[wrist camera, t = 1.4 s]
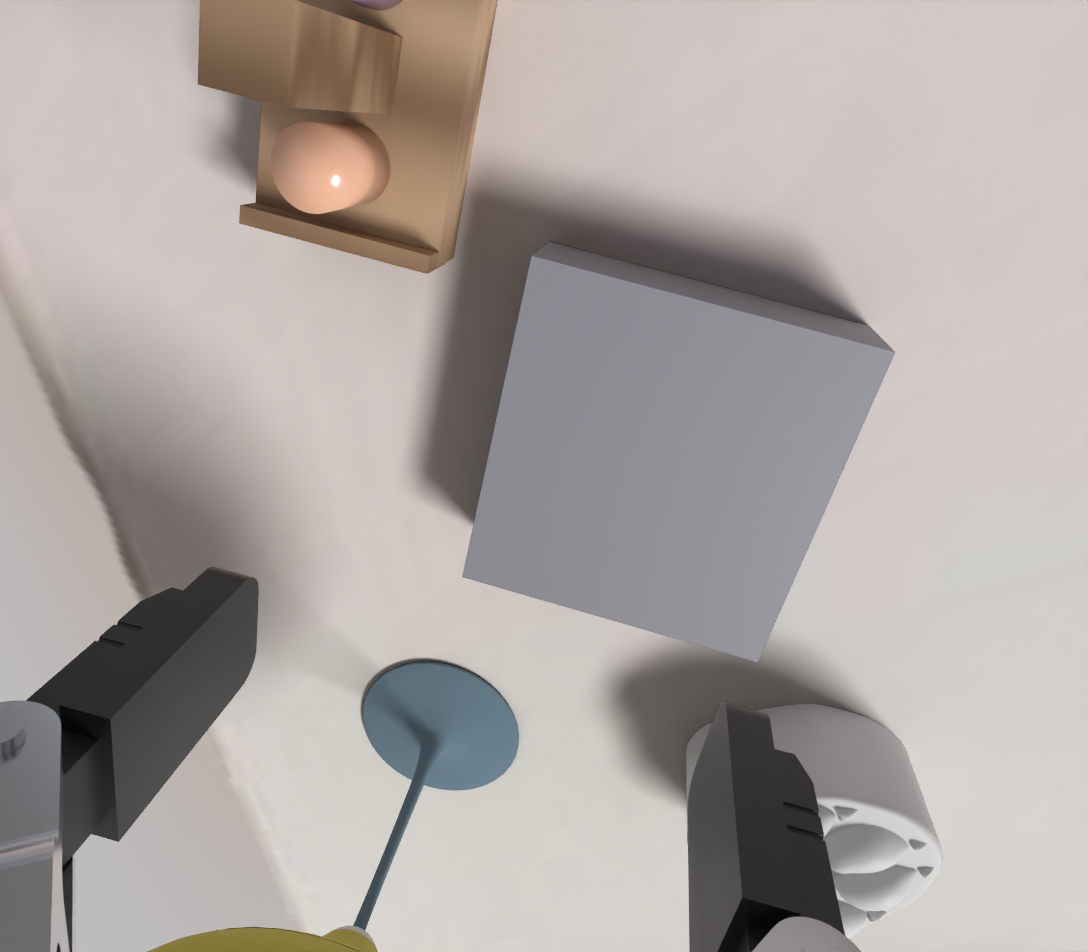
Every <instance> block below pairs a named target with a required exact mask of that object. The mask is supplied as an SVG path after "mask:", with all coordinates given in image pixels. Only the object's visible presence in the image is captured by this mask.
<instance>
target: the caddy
mask: <svg viewBox="0 0 1088 952" xmlns="http://www.w3.org/2000/svg"><path fill="white" fill-rule="evenodd" d="M497 1H498V0H403V1H402V2H401V3H399V4H398V5H396V6H395V7H393V8H390V9H387V10H382V11H376V10H370V9H367V8H365V7H362V6H360V5H357V4H355V3H353V2H350V1H348V0H200V25H199V63H198V84H199V85H203V86H206V87H210V88H214V89H218V90H222V91H226V92H230V93H233V94H237V95H241V96H245V97H249V98H253V99H257V100H260V101H262V105H261V122H260V139H259V156H258V172H257V189H256V203H252V204H245V205H240V220H239V223H240V224H244V225H247V226H251V227H255V228H259V229H262V230H266V231H270V232H274V233H277V234H281V235H285V236H288V237H292V238H296V239H300V240H303V241H307V242H311V243H315V244H318V245H322V246H326V247H329V248H333V249H337V250H341V251H344V252H348V253H352V254H356V255H359V256H363V257H367V258H370V259H374V260H378V261H382V262H385V263H389V264H393V265H396V266H400V267H404V268H408V269H411V270H415V271H419V272H423V273H426V274H428V273H429V272H431V271H433V270H435V269H437V268H439V267H440V266H442V265H444V264H445V262H447V261H448V260H450V259H452V258H453V257H454V251H455V245H456V239H457V233H458V228H459V222H460V216H461V210H462V204H463V199H464V193H465V187H466V181H467V175H468V169H469V164H470V158H471V152H472V146H473V140H474V135H475V129H476V123H477V117H478V111H479V106H480V100H481V94H482V88H483V82H484V76H485V71H486V65H487V59H488V53H489V47H490V42H491V36H492V30H493V24H494V18H495V12H496V7H497ZM299 122H324V123H354V124H359V125H362V126H365V127H367V128H368V129H370V130H371V131H373V132H374V133H375V134H376V135H377V136H378V137H379V138H380V139H381V141H382V142H383V144H384V146H385V148H386V150H387V152H388V155H389V159H390V177H389V181H388V184H387V186H386V188H385V190H384V191H383V193H382V194H381V195H380V196H379V197H378V198H377V199H375V200H374V201H372V202H370V203H367V204H362V205H358V206H354V207H349V208H345V209H340V210H336V211H331V212H327V213H322V214H311V213H306V212H303V211H301V210H299V209H297V208H295V207H294V206H292V205H291V204H290V203H289V202H288V201H287V200H286V199H285V198H284V197H283V196H282V195H281V193H280V192H279V190H278V188H277V187H276V184H275V182H274V179H273V176H272V172H271V164H270V161H271V152H272V148H273V145H274V143H275V140H276V139H277V137H278V136H279V134H280V133H281V132H282V131H283V130H284V129H286V128H287V127H289V126H291V125H293V124H295V123H299Z"/></svg>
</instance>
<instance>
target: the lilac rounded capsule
mask: <svg viewBox="0 0 1088 952" xmlns="http://www.w3.org/2000/svg"><path fill="white" fill-rule="evenodd" d="M348 1H350V2H353V3H355V4H357V5H360V6H362V7H365V8H367V9H370V10H376V11H382V10H387V9H390V8H393V7H395V6H396V5H398V4H399V3H401V2H402V1H403V0H348Z"/></svg>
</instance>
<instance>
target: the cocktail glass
mask: <svg viewBox="0 0 1088 952" xmlns="http://www.w3.org/2000/svg"><path fill="white" fill-rule="evenodd" d="M363 722H364V728H365V731H366V734H367V736H368V738H369V740H370V742H371V744H372V746H373V747H374V749H375V750H376V752H377V753H378V754H379V755H380V757H381V758H382V759H383V760H384V761H385V762H386V763H387V764H388V765H390V766H391V767H392V768H393V769H395V770H396V771H397V772H399V773H400V774H402V775H404V776H405V777H407V778H409V779H411V780H412V782H411V785H410V788H409V790H408V793H407V795H406V798H405V800H404V803H403V806H402V808H401V811H400V813H399V816H398V818H397V821H396V823H395V826H394V828H393V831H392V833H391V836H390V838H389V841H388V843H387V846H386V848H385V851H384V853H383V856H382V858H381V861H380V863H379V866H378V868H377V870H376V873H375V875H374V878H373V880H372V883H371V885H370V887H369V890H368V892H367V895H366V897H365V900H364V902H363V904H362V907H361V909H360V911H359V914H358V916H357V918H356V921H355V923H354V925H353V926H344V927H340V928H338V929H336V930H333V931H331V932H330V933H328V934H326V935H324V936H323V937H321V936H317V935H314V934H308V933H303V932H297V931H292V930H284V929H276V928H261V927H244V928H229V929H224V930H216V931H211V932H206V933H202V934H196V935H192V936H188V937H184V938H180V939H178V940H175V941H172V942H170V943H167V944H165V945H163V946H160V947H158V948H155V949H153V950H150V951H148V952H377V949H376V946H375V944H374V942H373V940H372V938H371V937H370V935H369V934H368V933H367V932H366V931H365V929H366V926H367V924H368V921H369V919H370V916H371V913H372V911H373V908H374V906H375V903H376V901H377V898H378V896H379V893H380V891H381V888H382V886H383V883H384V880H385V878H386V875H387V873H388V870H389V868H390V865H391V863H392V860H393V858H394V856H395V853H396V851H397V848H398V846H399V843H400V841H401V838H402V836H403V833H404V831H405V829H406V826H407V824H408V821H409V819H410V817H411V814H412V812H413V809H414V807H415V805H416V802H417V800H418V797H419V795H420V793H421V790H422V788H423V786H424V785H426V786H429V787H433V788H438V789H444V790H467V789H473V788H478V787H481V786H484V785H487V784H488V783H490V782H492V781H494V780H496V779H497V778H499V777H500V776H501V775H502V774H504V773H505V772H506V770H507V769H508V768H509V767H510V766H511V764H512V762H513V760H514V758H515V756H516V753H517V749H518V742H519V733H518V725H517V722H516V719H515V716H514V714H513V712H512V710H511V708H510V707H509V705H508V704H507V702H506V701H505V700H504V698H503V697H502V696H501V695H500V694H499V693H498V692H497V691H496V690H495V689H494V688H493V687H492V686H491V685H490V684H488V683H487V682H486V681H484V680H483V679H481V678H480V677H478V676H476V675H474V674H473V673H471V672H469V671H466V670H464V669H461V668H459V667H456V666H452V665H448V664H444V663H436V662H416V663H409V664H405V665H402V666H399V667H396V668H394V669H392V670H390V671H388V672H386V673H385V674H384V675H383V676H381V677H380V678H379V679H378V680H377V681H376V682H375V683H374V684H373V686H372V687H371V688H370V690H369V692H368V694H367V696H366V698H365V702H364V706H363Z"/></svg>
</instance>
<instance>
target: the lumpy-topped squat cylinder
mask: <svg viewBox="0 0 1088 952" xmlns="http://www.w3.org/2000/svg"><path fill="white" fill-rule="evenodd" d="M755 711H759V712H763V713H766V714H768V716H769V718H770V723H771V729H772V735H773V742H774V748H775V749H777V750H781V751H784V752H788V753H792V754H795V755H796V757H797V758H798V760H799V761H800V763H801V764H802V766H803V768H804V769H805V771H806V772H807V774H808V775H809V777H810V778H811V780H812V782H813V784H814V789H815V794H816V799H817V803H818V808H819V814H818V816H819V817H820V818H821V823H822V827H823V832H824V837H823V841H825V842H826V846H827V851H828V856H829V861H830V866H831V870H832V875H833V880H834V885H835V890H836V894H837V899H838V904H839V909H840V914H841V918H842V923H843V928H844V932H845V935H846V937H847V938H848V939H850V938H852V937H853V936H854V935H856V934H857V933H858V932H859V931H860V930H861V929H862V928H863V926H865V925H869V924H871V923H874V922H877V921H879V920H881V919H882V918H884V917H886V916H888V915H891V914H892V913H894V912H896V911H898V910H900V909H902V908H903V907H905V906H907V905H909V904H910V903H912V902H913V901H915V900H916V899H917V898H918V897H919V896H920V895H922V894H923V893H924V892H925V890H926V889H927V888H928V887H929V886H930V884H931V883H932V882H933V880H934V879H935V877H936V876H937V874H938V873H939V870H940V868H941V865H942V850H941V845H940V842H939V840H938V837H937V834H936V832H935V829H934V826H933V823H932V820H931V818H930V815H929V812H928V809H927V807H926V804H925V801H924V798H923V795H922V792H921V790H920V787H919V784H918V781H917V779H916V776H915V773H914V770H913V768H912V765H911V762H910V759H909V757H908V754H907V751H906V749H905V747H904V745H903V743H902V742H901V741H900V739H899V738H898V737H897V736H896V735H894V734H893V733H892V732H891V731H889V730H888V729H887V728H885V727H884V726H882V725H880V724H879V723H877V722H875V721H873V720H872V719H869V718H867V717H865V716H862V715H859V714H856V713H853V712H849V711H845V710H841V709H837V708H833V707H828V706H823V705H818V704H794V705H785V706H778V707H771V708H765V709H759V710H755ZM711 724H712V722H711V723H709V724H707V725H705V726H703V727H702V728H700V729H699V730H698V731H697V732H696V733H695V734H694V735H693V736H692V737H691V739H690V740H689V742H688V744H687V748H686V784H687V842H688V797H689V790H690V785H691V780H692V776H693V772H694V769H695V766H696V764H697V761H698V758H699V756H700V753H701V750H702V748H703V745H704V742H705V740H706V737H707V735H708V732H709V729H710V727H711Z"/></svg>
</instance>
